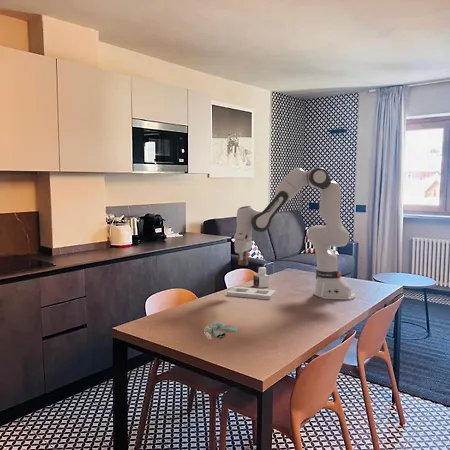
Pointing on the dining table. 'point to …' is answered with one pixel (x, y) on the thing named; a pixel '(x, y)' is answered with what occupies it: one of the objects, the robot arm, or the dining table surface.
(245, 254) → the walnut block
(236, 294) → the parts plate
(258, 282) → the medicine bottle
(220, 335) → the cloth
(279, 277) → the dining table surface
